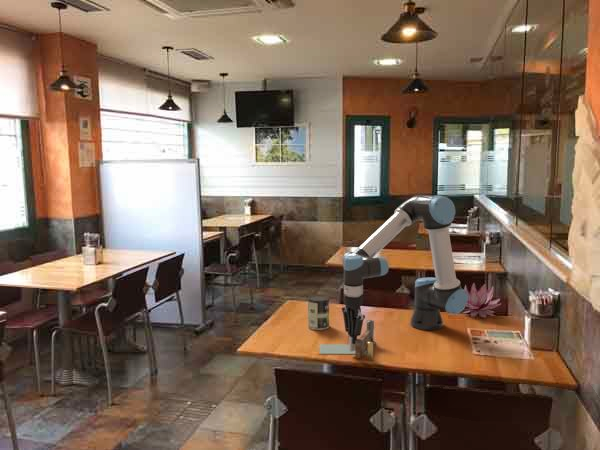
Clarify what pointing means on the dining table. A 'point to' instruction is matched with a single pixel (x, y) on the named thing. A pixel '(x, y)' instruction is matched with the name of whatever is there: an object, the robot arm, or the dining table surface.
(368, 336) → the gate
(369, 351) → the post
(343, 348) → the mat
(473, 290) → the decorative flower
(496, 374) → the dining table surface
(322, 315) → the coffee can
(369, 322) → the hinge post
